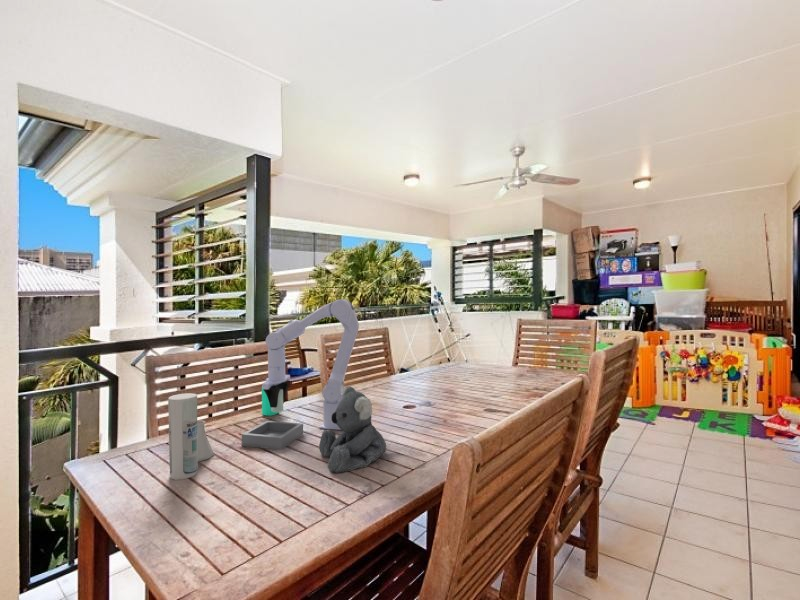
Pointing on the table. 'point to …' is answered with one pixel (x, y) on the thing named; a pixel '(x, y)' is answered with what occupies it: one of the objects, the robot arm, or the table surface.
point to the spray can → (183, 435)
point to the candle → (266, 405)
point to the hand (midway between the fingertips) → (277, 405)
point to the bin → (272, 435)
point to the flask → (203, 443)
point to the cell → (279, 402)
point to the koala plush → (352, 434)
